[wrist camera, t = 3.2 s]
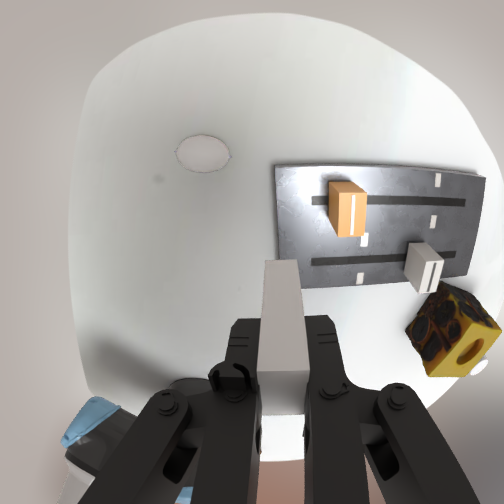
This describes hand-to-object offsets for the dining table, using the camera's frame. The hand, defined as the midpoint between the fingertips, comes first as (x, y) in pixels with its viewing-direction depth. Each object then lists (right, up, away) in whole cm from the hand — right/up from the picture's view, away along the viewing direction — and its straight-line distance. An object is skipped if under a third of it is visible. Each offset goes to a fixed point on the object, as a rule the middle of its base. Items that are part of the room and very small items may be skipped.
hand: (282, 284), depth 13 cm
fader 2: (+18, +1, +15) cm, 23 cm away
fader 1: (+7, +7, +13) cm, 16 cm away
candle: (+29, -8, +21) cm, 36 cm away
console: (+15, +5, +16) cm, 22 cm away
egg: (-6, +12, +14) cm, 20 cm away
